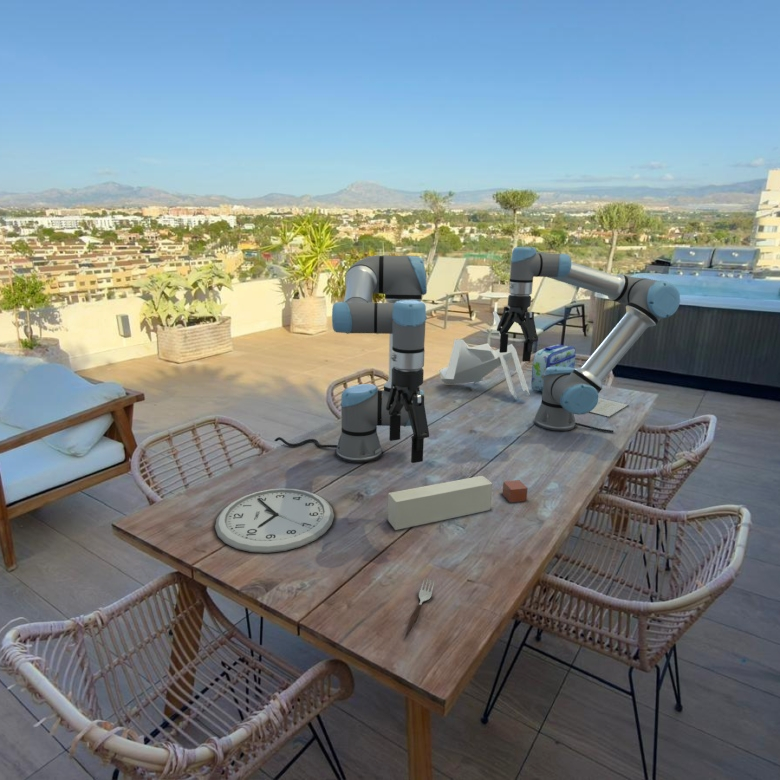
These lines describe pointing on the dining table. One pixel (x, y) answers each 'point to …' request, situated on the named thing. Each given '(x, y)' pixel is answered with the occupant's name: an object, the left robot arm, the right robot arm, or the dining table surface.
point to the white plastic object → (480, 363)
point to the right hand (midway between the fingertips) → (514, 356)
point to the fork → (423, 597)
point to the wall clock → (274, 520)
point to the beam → (439, 502)
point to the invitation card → (607, 407)
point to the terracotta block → (514, 491)
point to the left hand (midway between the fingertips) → (405, 450)
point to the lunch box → (550, 362)
